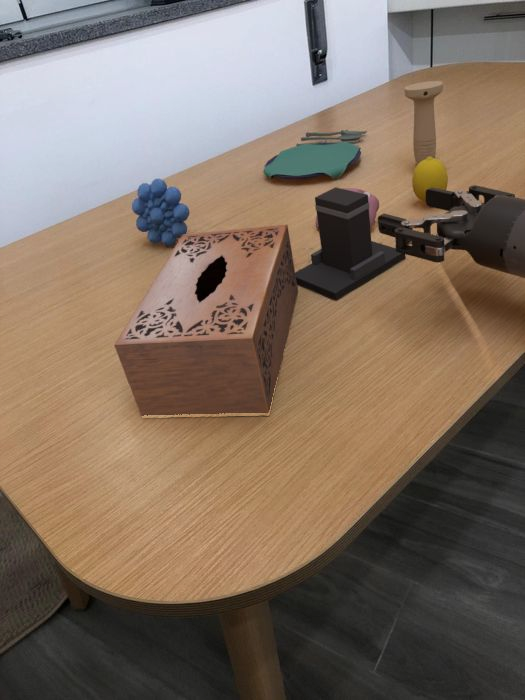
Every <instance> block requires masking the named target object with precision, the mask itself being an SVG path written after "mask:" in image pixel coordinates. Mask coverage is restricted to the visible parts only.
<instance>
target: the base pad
mask: <svg viewBox="0 0 525 700" xmlns="http://www.w3.org/2000/svg"><path fill="white" fill-rule="evenodd" d="M371 243H372V256H371V257H369V258H368V259H366V260H364V261H363V262H361V263H359V264H357V265H356V266H354V267H352V268H351V269H350V272H351V273H348V272H345V271H343V270H340V269H337V268H334V267H332V266H329V265H326V264H324V263H323V258H322V250H321V248H319V250H317V251H315V252H313V253H310V259H311V263H310V264H308V265H306V266H304V267H302V268H300V269H298V270H297V271H295V275H296V282H297V286H300V287H303V288H304V289H307V290H310V291H312V292H314V293H316V294H318V295H322V296H324V297H326V298H328V299H331V300H333V301H338V300H339V299H341V298H343V297H345V296H346V295H348V294H350V293H351V292H353V291H354V290H356V289H358V288H360V287H362V285H364V284H366V283H368V282H370V281H371V280H373V279H375V278H376V277H377V276H379V275H381V274H382V273H384V272H386V271H387V270H389V269H391V268H393V267H394V266H395V265H397V264H399V263H401V262H402V261H404V260H405V259H406V254H403V253H399V252H396V247H393V246H390V245H386V244H383V243H380V242H376V241H374V240H371Z"/></svg>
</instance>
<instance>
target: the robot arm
mask: <svg viewBox="0 0 525 700" xmlns="http://www.w3.org/2000/svg"><path fill="white" fill-rule="evenodd" d="M425 194H426V202H425V205H426V206H427V207H430V208H433V209H438V210H442V211H447V212H444V213H434V214H425V215H424V216H423V217H422V218H419V219H407V218H404V217H400V216H396V215H392V214H389V213H381V214H380V215H378V216H377V227H378V231H379V233H380V234H382V235H385V236H389V237H392V238H395V248H396V252H399V253H403V254H405V256H410V257H414V258H418V259H422V260H426V261H429V262H433V263H436V264H437V263H442V262H444V261H445V253H446V252H448V251H449V250H453V251H454V250H456V251H458V250H459V251H466V252H467V253H468V254H469V256H470V257H471V258H472V260H473V261H474V263H476V264H477V265H478V266H482V267H484V268H489V269H492V270H494V271H498V272H501V273H505V274H508V275H511V276H515V277H519V278H522V279H525V199H524V198H519V197H516V194H515V193H512V192H507V191H504V190H503V191H502V190H499V189H494V188H490V187H486V186H480V185H470V186H468V190H467V191H466V190H464V189H458V190H455V191H452V190H447V189H446V190H442V189H438V188H433V187H431V188H429V189H427V190H426V192H425ZM480 196H482V197H483V202H482V201H480ZM433 224H436V232H435V233H434V232H433V233H432V226H433ZM415 229H422V230H423V231H419V230H415Z"/></svg>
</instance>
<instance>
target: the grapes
mask: <svg viewBox="0 0 525 700" xmlns="http://www.w3.org/2000/svg"><path fill="white" fill-rule="evenodd" d="M181 200H182V192H181V190H180V189H179V188H177V187H175V186H169V187H168V185H167V183H166V181H165V180H163V179H162V178H154V180H152V182H151V183H150V184H149V183H147V182H145V183H144V182H143V183H141V184H140V185H139V186H138V188H137V197H135V198H134V199H133V201H132V203H131V210H132V212H133V213H134V214H135V215H136V216H137V218H136V221H135V226H136V229H137V230H138V231H139V232H141V233H147V235H146V236H147V240H148V242H150V244H152V245H158V244H160V243H162V244H163V246H165V247H169V248H170V247H173V246H175V245H176V244H177V242H178V241H177V239H180V238H181V236H182V235H183V234H188V226H187V223H186V221H188V218H189V216H190V208H189V207H188V205H187V204H185V203H180V202H181Z"/></svg>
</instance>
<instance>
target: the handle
mask: <svg viewBox="0 0 525 700" xmlns="http://www.w3.org/2000/svg"><path fill="white" fill-rule="evenodd" d="M443 90H444V82H443V81H441V80H430V81H421V82H417V83H416V82H415V83H412V84H409V85H406V86H405V87H404V96H405V97H406V98H407V99H409V100H411V101H413V108H414V109H413V136H412V137H413V139H412V140H413V141H412V145H413V154H414V160H415V167H416V166H417V165H418V164H419V163H420V162H421V161H423V160H425V159H426V158H427V157H432V158H434V159H436V152H437V133H436V132H437V131H436V119H435V98H436V97H437V96H439V95H440V94H441V93H442V92H443Z"/></svg>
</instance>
